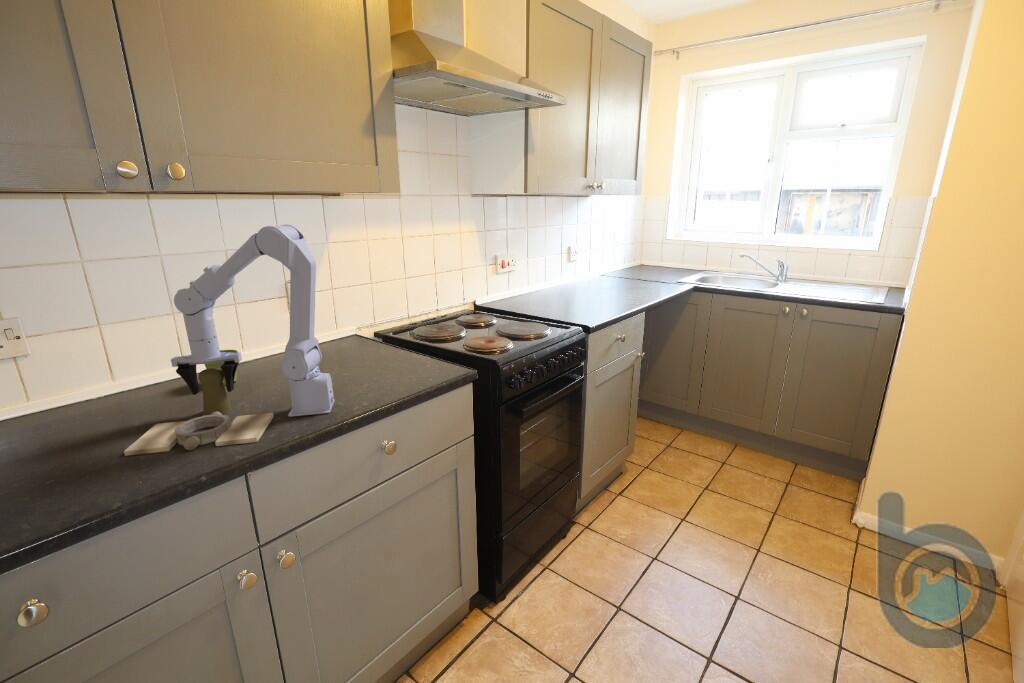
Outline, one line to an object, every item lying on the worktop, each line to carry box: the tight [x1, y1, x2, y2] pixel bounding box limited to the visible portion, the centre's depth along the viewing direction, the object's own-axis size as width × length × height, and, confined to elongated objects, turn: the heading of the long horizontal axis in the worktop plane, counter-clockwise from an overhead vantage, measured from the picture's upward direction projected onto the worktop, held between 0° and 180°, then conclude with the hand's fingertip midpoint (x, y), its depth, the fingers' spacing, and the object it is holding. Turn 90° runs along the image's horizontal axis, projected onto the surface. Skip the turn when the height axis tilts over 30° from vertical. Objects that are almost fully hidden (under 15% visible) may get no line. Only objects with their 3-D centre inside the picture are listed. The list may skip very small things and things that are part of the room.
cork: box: [197, 368, 233, 416], centre depth 116 cm, size 6×6×11 cm
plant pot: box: [204, 349, 239, 386], centre depth 136 cm, size 9×9×9 cm
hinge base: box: [123, 411, 275, 457], centre depth 105 cm, size 25×14×2 cm, turn 101°
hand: (213, 391), depth 116 cm, fingers open, 7 cm apart
